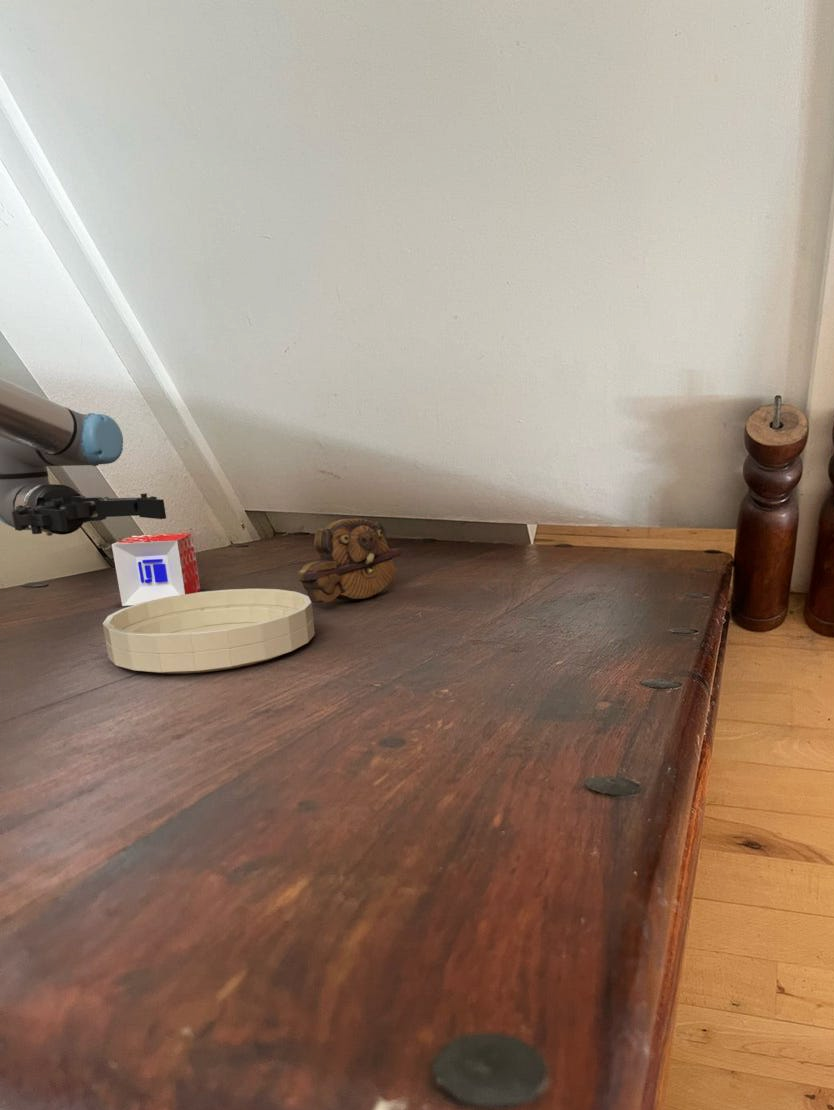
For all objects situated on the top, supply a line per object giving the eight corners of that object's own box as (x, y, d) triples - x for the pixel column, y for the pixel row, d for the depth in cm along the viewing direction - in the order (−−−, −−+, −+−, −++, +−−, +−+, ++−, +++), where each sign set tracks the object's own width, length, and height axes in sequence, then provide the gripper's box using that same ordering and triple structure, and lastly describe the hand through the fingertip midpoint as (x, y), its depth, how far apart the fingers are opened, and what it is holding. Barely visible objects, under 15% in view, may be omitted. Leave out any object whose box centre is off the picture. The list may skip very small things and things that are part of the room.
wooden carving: (328, 616, 88) (320, 528, 85) (298, 613, 90) (289, 527, 87) (411, 588, 101) (406, 511, 99) (383, 585, 104) (377, 511, 101)
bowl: (71, 682, 68) (62, 638, 67) (160, 627, 86) (154, 592, 85) (288, 674, 67) (283, 630, 66) (330, 620, 86) (327, 585, 85)
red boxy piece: (200, 589, 106) (192, 532, 104) (186, 602, 99) (177, 540, 97) (140, 593, 105) (130, 535, 103) (121, 606, 98) (110, 544, 96)
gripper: (134, 523, 129) (202, 530, 116) (-34, 544, 111) (22, 556, 97) (127, 477, 127) (194, 479, 114) (-46, 491, 109) (10, 496, 95)
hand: (115, 514), depth 105 cm, fingers open, 13 cm apart
